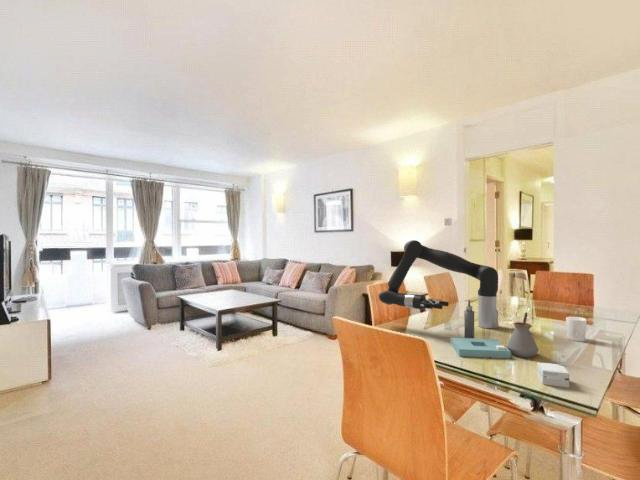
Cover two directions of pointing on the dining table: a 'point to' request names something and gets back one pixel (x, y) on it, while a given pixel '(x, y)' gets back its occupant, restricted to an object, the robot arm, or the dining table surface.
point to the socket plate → (480, 348)
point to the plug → (469, 321)
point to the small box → (553, 374)
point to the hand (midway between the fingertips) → (445, 305)
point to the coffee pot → (522, 340)
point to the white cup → (576, 328)
